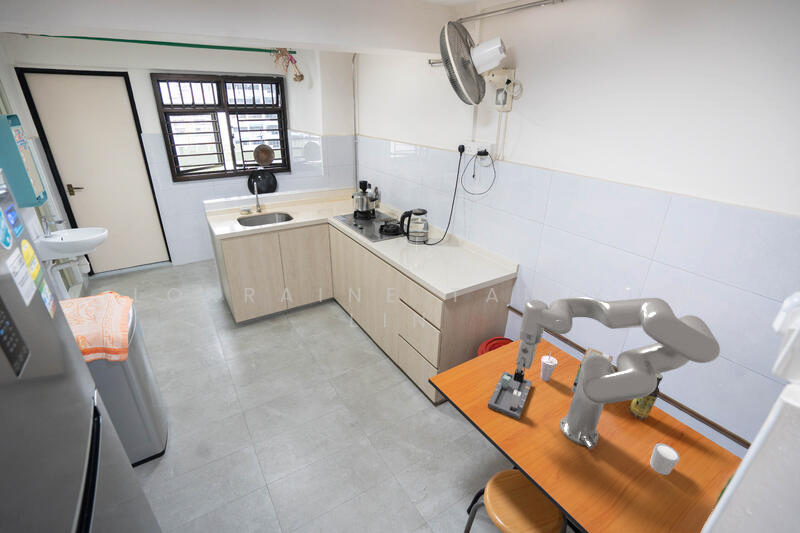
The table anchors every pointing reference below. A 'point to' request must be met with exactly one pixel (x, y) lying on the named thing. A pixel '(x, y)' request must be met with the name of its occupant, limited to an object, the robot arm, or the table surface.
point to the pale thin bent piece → (587, 354)
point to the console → (509, 396)
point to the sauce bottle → (645, 402)
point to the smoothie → (547, 367)
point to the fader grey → (515, 399)
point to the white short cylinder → (664, 459)
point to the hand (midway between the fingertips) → (521, 373)
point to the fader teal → (505, 382)
